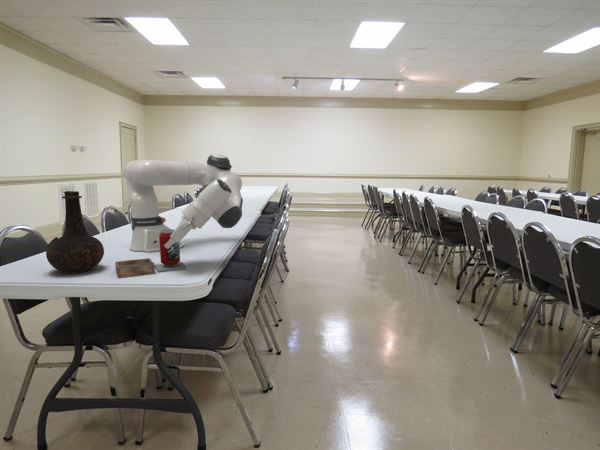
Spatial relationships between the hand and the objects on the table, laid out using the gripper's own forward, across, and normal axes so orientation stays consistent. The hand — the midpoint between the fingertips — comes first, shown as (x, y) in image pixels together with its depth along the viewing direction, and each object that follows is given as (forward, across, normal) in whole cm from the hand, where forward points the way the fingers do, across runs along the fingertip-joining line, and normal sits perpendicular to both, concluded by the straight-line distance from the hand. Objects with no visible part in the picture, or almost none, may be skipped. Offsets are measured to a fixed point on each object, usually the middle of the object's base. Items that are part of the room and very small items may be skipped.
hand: (167, 244), depth 145 cm
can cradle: (+14, -4, +2) cm, 14 cm away
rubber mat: (+5, 0, -6) cm, 8 cm away
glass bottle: (+28, +3, +16) cm, 33 cm away
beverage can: (+5, 0, -6) cm, 7 cm away
